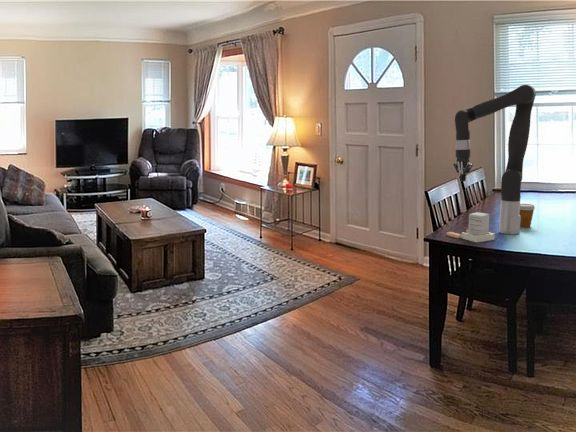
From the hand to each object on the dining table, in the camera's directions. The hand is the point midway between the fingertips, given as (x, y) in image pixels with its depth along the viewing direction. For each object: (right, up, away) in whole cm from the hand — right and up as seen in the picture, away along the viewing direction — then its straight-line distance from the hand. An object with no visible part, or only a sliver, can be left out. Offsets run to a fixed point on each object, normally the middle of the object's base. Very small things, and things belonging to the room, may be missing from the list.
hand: (462, 181), depth 295 cm
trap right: (+3, -28, -8) cm, 29 cm away
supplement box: (+2, -30, -19) cm, 36 cm away
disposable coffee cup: (+36, -25, +7) cm, 44 cm away
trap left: (-9, -29, -14) cm, 33 cm away
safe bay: (+1, -30, -19) cm, 36 cm away
